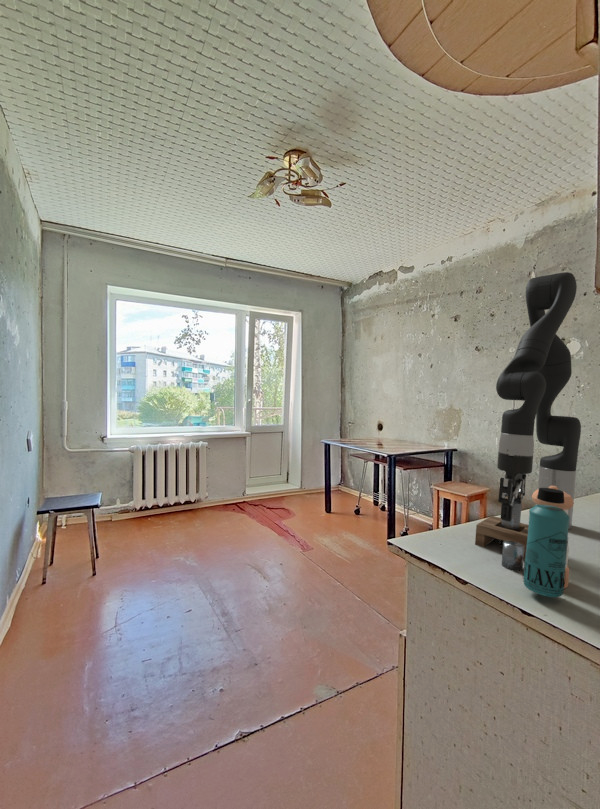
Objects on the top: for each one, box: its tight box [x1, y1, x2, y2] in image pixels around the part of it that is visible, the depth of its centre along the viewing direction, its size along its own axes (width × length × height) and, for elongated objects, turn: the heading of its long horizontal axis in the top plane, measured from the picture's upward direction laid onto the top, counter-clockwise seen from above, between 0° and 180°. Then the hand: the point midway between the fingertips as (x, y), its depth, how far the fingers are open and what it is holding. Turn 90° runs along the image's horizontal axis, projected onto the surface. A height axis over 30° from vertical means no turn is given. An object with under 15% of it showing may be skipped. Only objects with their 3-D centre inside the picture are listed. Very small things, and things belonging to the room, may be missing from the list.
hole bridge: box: [474, 515, 529, 560], centre depth 94 cm, size 12×12×5 cm
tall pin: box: [499, 501, 522, 548], centre depth 94 cm, size 4×4×11 cm
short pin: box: [501, 541, 525, 572], centre depth 81 cm, size 4×4×5 cm
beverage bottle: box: [522, 488, 570, 598], centre depth 69 cm, size 6×7×20 cm
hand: (510, 516), depth 94 cm, fingers open, 8 cm apart
